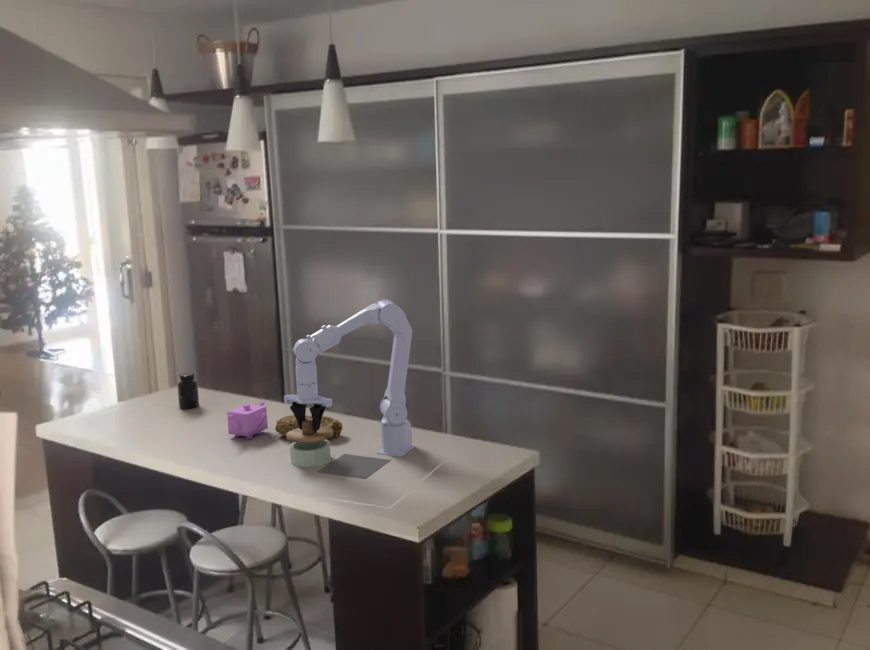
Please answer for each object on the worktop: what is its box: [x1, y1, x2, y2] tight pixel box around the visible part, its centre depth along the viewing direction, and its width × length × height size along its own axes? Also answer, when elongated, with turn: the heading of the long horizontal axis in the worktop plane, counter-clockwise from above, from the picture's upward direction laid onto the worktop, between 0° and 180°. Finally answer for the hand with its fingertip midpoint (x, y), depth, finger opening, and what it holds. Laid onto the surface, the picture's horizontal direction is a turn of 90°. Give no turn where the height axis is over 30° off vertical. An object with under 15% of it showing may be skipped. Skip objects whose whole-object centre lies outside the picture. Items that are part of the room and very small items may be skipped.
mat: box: [316, 453, 392, 480], centre depth 223 cm, size 15×15×1 cm
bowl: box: [289, 439, 332, 468], centre depth 228 cm, size 11×11×5 cm
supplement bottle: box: [177, 372, 200, 410], centre depth 285 cm, size 7×7×12 cm
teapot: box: [226, 400, 269, 440], centre depth 252 cm, size 18×13×10 cm
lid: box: [285, 419, 333, 443], centre depth 226 cm, size 13×13×4 cm
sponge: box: [275, 414, 344, 441], centre depth 250 cm, size 13×8×20 cm
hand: (309, 429), depth 227 cm, fingers closed on lid, 4 cm apart
